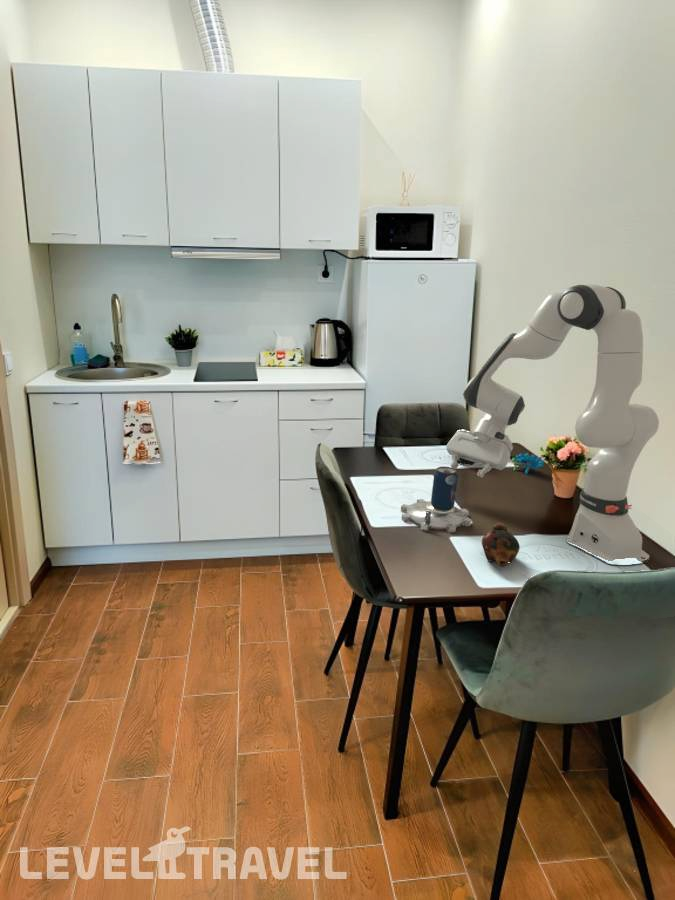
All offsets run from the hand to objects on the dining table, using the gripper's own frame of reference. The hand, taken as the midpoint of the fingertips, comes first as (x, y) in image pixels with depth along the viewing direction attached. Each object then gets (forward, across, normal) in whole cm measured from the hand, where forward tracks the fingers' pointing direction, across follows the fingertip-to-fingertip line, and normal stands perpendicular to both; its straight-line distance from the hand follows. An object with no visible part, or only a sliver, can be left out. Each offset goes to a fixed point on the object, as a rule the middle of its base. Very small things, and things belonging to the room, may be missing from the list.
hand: (466, 471), depth 210 cm
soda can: (+15, 0, -3) cm, 15 cm away
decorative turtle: (+26, +28, -11) cm, 40 cm away
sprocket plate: (+19, +1, -5) cm, 20 cm away
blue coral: (-24, -1, +39) cm, 46 cm away
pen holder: (-18, -22, +32) cm, 43 cm away
